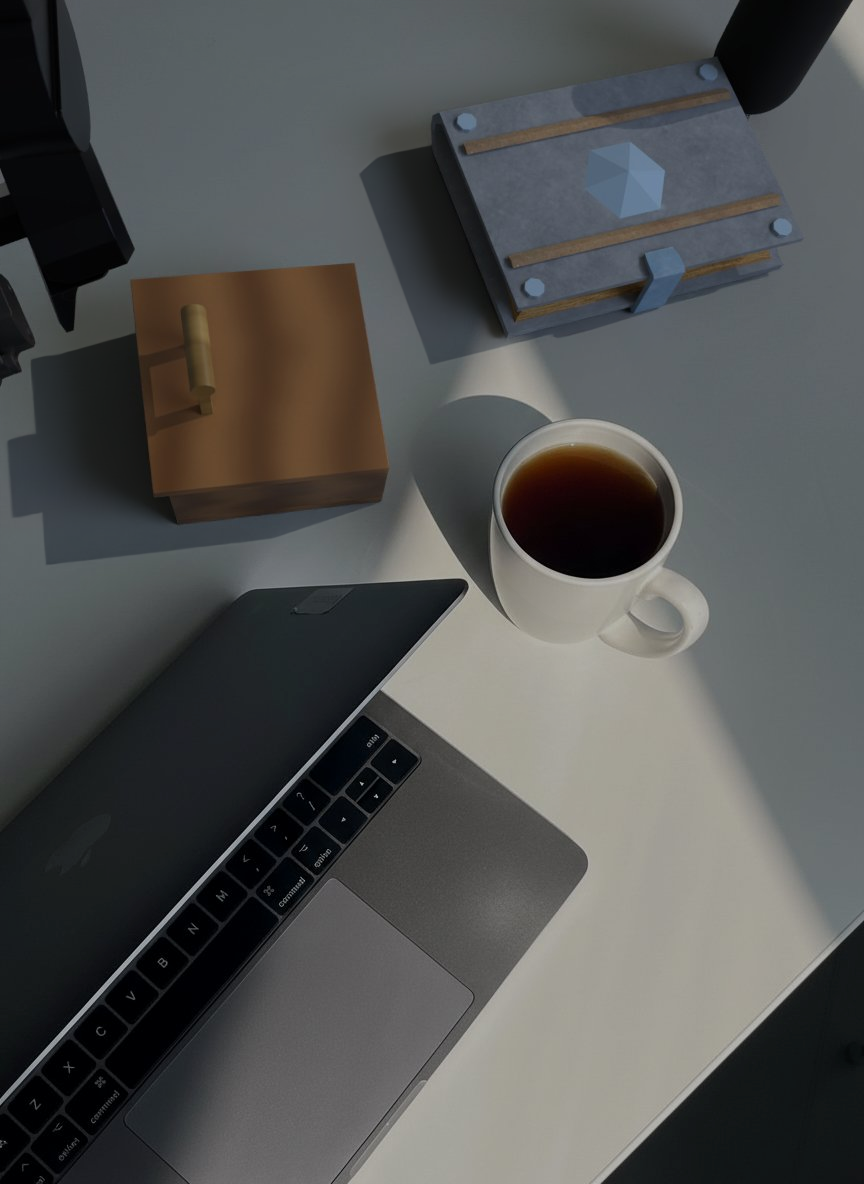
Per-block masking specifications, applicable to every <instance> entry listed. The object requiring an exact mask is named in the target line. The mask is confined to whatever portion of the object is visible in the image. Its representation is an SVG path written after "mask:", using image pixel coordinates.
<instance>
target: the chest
mask: <svg viewBox="0 0 864 1184" xmlns="http://www.w3.org/2000/svg"><path fill="white" fill-rule="evenodd" d="M388 475H389V471H388V472H384V473H375V474H366V475H357V476H348V477H339V478H329V479H320V480H311V481H302V482H293V483H284V484H275V485H265V486H256V487H247V488H238V489H229V490H220V491H211V492H201V493H192V494H183V495H174V496H168V497H169V500H170V503H171V506H172V510H173V513H174V516H175V519H176V522H177V524H178V525H187V524H196V523H197V524H198V523H204V522H214V521H221V520H230V519H231V520H232V519H239V518H241V519H242V518H248V517H257V516H258V517H259V516H265V515H267V516H268V515H273V514H274V515H275V514H283V513H292V512H300V511H309V510H319V509H327V508H328V509H329V508H335V507H344V506H353V505H355V506H356V505H361V504H363V505H364V504H371V503H379V502H381V503H382V501H383V496H384V492H385V489H386V488H385V487H386V483H387V479H388Z"/></svg>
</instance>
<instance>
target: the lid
mask: <svg viewBox="0 0 864 1184" xmlns="http://www.w3.org/2000/svg"><path fill="white" fill-rule="evenodd" d="M357 273H358V272H357V268H356V263H355V262H347V263H335V264H322V265H307V266H296V267H295V266H294V267H292V266H291V267H283V268H282V267H281V268H268V269H267V268H266V269H253V270H242V271H226V272H213V273H201V274H188V275H174V276H158V277H147V278H145V277H144V278H133V279H130V280H129V282H130V291H131V300H132V311H133V320H134V328H135V338H136V339H135V340H136V348H137V359H138V365H139V367H138V368H139V375H140V385H141V394H142V405H143V413H144V422H145V432H146V441H147V451H148V460H149V470H150V471H149V472H150V478H151V479H150V480H151V489H152V494H153V497H154V498H162V497H163V498H165V497H169V496H174V495H183V494H192V493H201V492H211V491H220V490H229V489H238V488H247V487H256V486H265V485H275V484H284V483H293V482H302V481H311V480H320V479H329V478H339V477H348V476H357V475H366V474H375V473H384V472H388V473H389V471H390V462H389V456H388V451H387V445H386V440H385V438H386V437H385V433H384V427H383V421H382V416H381V410H380V409H381V408H380V404H379V398H378V392H377V386H376V381H375V374H374V368H373V363H372V362H373V361H372V357H371V351H370V344H369V339H368V332H367V328H366V327H367V326H366V321H365V315H364V309H363V302H362V297H361V291H360V286H359V280H358V274H357Z"/></svg>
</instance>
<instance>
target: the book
mask: <svg viewBox="0 0 864 1184" xmlns="http://www.w3.org/2000/svg"><path fill="white" fill-rule="evenodd" d="M430 122H431V123H430V134H431V150H432V154H433V156H434V159H435V161H436V163H437V166H438V169H439V171H440V173H441V177H442V178H443V181H444V183H445V186H446V188H447V192H448V194H449V196H450V199H451V201H452V204H453V206H454V209H455V212H456V214H457V216H458V219H459V222H460V224H461V226H462V229H463V231H464V234H465V237H466V239H467V241H468V244H469V247H470V249H471V252H472V254H473V256H474V260H475V262H476V264H477V267H478V269H479V272H480V274H481V278H482V279H483V280H482V281H483V282H484V285H485V287H486V289H487V292H488V295H489V297H490V300H491V302H492V305H493V307H494V309H495V312H496V315H497V318H498V320H499V322H500V325H501V328H502V330H503V333H504V335H505V338H506V339H510V338H513V337H517V336H521V335H525V334H530V333H533V332H538V331H541V330H545V329H549V328H553V327H557V326H561V325H565V324H569V323H573V322H577V321H580V320H584V319H588V318H592V317H596V316H597V317H598V316H601V315H605V314H608V313H612V312H616V311H621V310H625V309H630V312H631V313H632V314H638V313H642V312H645V311H649V310H654V309H657V308H662V307H664V306H665V304H666V303H667V301H668V300H669V298H671V297H676V296H680V295H683V294H689V293H691V292H695V291H700V290H704V289H707V288H711V287H715V286H719V285H724V284H728V283H731V282H734V281H739V280H743V279H746V278H752V277H755V276H758V275H762V274H767V273H770V272H774V271H778V270H780V269H781V268H782V267H783V266H784V262H783V261H782V258H781V256H780V254H779V251H778V250H777V248H780V247H784V246H788V245H789V246H790V245H792V244H797V243H801V242H802V241H803V240H804V239H805V236H804V234H803V232H802V230H801V228H800V226H799V224H798V221H797V219H796V217H795V215H794V213H793V211H792V209H791V207H790V205H789V203H788V201H787V198H786V197H785V194H784V193H783V190H782V188H781V187H780V186H781V185H780V184H779V182H778V180H777V178H776V175H775V173H774V172H773V170H772V168H771V166H770V164H769V163H770V162H768V160H767V157H766V155H765V153H764V151H763V149H762V147H761V145H760V143H759V141H758V138H757V137H756V134H755V132H754V131H753V128H752V126H751V124H750V122H749V120H748V118H747V116H746V114H744V111H743V109H742V107H741V105H740V103H739V101H738V99H737V97H736V95H735V93H734V91H733V89H732V87H731V84H730V82H729V80H728V78H727V76H726V74H725V72H724V70H723V68H722V66H721V64H720V62H719V60H718V57H713V56H712V57H707V58H702V59H697V60H692V61H687V62H682V63H677V64H672V65H668V66H663V67H657V68H652V69H647V70H643V71H638V72H633V73H628V74H622V75H618V76H613V77H607V78H603V79H598V80H593V81H589V82H588V81H587V82H583V83H578V84H573V85H568V86H563V87H557V88H553V89H548V90H543V91H538V92H533V93H529V94H528V93H527V94H523V95H518V96H515V97H514V96H512V97H508V98H503V99H499V100H493V101H488V102H484V103H478V104H473V105H469V106H463V107H458V108H454V109H448V110H443V111H439V112H436V113H435V114H434V113H433V114H432V116H431V121H430Z"/></svg>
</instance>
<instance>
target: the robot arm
mask: <svg viewBox="0 0 864 1184" xmlns="http://www.w3.org/2000/svg"><path fill="white" fill-rule="evenodd" d="M91 125H92V123H91V112H90V103H89V93H88V88H87V81H86V76H85V70H84V66H83V61H82V55H81V51H80V48H79V43H78V39H77V36H76V32H75V28H74V25H73V21H72V19H71V16H70V12H69V9H68V5H67V4H66V0H0V172H1V175H2V177H3V180H4V182H2V183H0V248H1V247H5V246H7V245H9V244H13V243H15V242H18V241H20V240H24V239H27V241H28V243H29V246H30V250H31V252H32V255H33V257H34V260H35V262H36V265H37V268H38V271H39V273H40V277H41V280H42V281H43V284H44V286H45V287H44V288H45V291H46V292H47V296H48V297H49V301H50V303H51V306H52V308H53V311H54V313H55V316H56V319H57V321H58V323H59V325H60V326H61V328H62V329H63V330H64V331H65V333H71V332H73V331H75V321H76V307H77V305H76V303H77V294H78V290H79V288H80V287H83V286H86V285H88V284H92V283H94V282H97V281H100V280H102V279H103V278H105V277H106V276H107V275H108V274H109V273H110V271H112V270H113V269H116V268H119V267H122V266H125V265H128V263H129V262H130V259H131V258H132V256H133V254H134V252H135V250H136V248H135V245H134V244H133V241H132V239H131V236H130V233H129V231H128V229H127V226H126V224H125V222H124V221H125V220H124V219H123V217H122V215H121V212H120V210H119V207H118V204H117V202H116V200H115V197H114V196H113V193H112V191H111V188H110V186H109V183H108V180H107V178H106V176H105V174H104V171H103V168H102V166H101V163H100V162H99V159H98V157H97V154H96V152H95V150H94V148H93V145H92V143H91V131H92V130H91V129H92V126H91ZM35 346H36V339H35V336H34V333H33V331H32V329H31V326H30V324H29V322H28V319H27V318H26V315H25V313H24V311H23V308H22V306H21V304H20V302H19V298H18V297H17V294H16V292H15V290H14V289H13V286H12V285H11V283H10V281H9V280H8V279H7V278H6V276H4V275H3V274H2V273H0V387H1V386H2V383H3V380H4V379H6V378H9V377H12V376H14V375H18V374H20V373H22V372H23V369H22V366H21V364H20V360H19V355H20V354H21V353H22V352H25V351H28V350H30V349H33V348H35Z"/></svg>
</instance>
